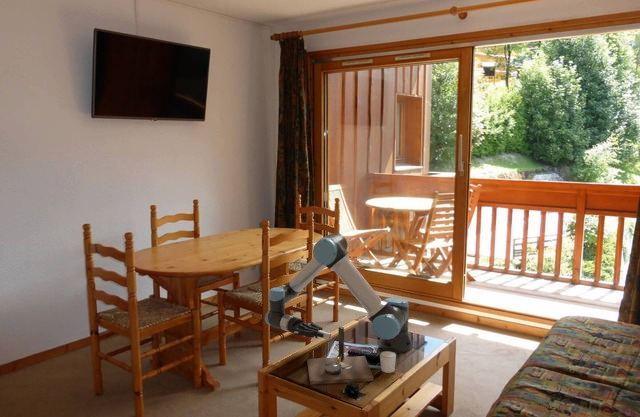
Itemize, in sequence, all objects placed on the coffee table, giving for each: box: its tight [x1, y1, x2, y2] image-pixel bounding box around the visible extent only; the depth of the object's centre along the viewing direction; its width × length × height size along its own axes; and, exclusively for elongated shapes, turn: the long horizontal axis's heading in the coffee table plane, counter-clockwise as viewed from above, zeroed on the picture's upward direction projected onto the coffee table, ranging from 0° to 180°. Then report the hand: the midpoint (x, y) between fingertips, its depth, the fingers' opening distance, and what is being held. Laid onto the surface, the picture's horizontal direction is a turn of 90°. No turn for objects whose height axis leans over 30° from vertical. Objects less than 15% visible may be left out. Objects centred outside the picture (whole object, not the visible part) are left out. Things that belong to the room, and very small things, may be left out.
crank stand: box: [306, 355, 375, 385], centre depth 208 cm, size 26×20×2 cm
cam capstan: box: [324, 326, 345, 374], centre depth 208 cm, size 17×7×14 cm, turn 160°
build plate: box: [338, 382, 367, 401], centre depth 189 cm, size 12×7×5 cm, turn 50°
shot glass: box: [379, 350, 397, 374], centre depth 208 cm, size 7×7×7 cm
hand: (330, 336), depth 219 cm, fingers closed
